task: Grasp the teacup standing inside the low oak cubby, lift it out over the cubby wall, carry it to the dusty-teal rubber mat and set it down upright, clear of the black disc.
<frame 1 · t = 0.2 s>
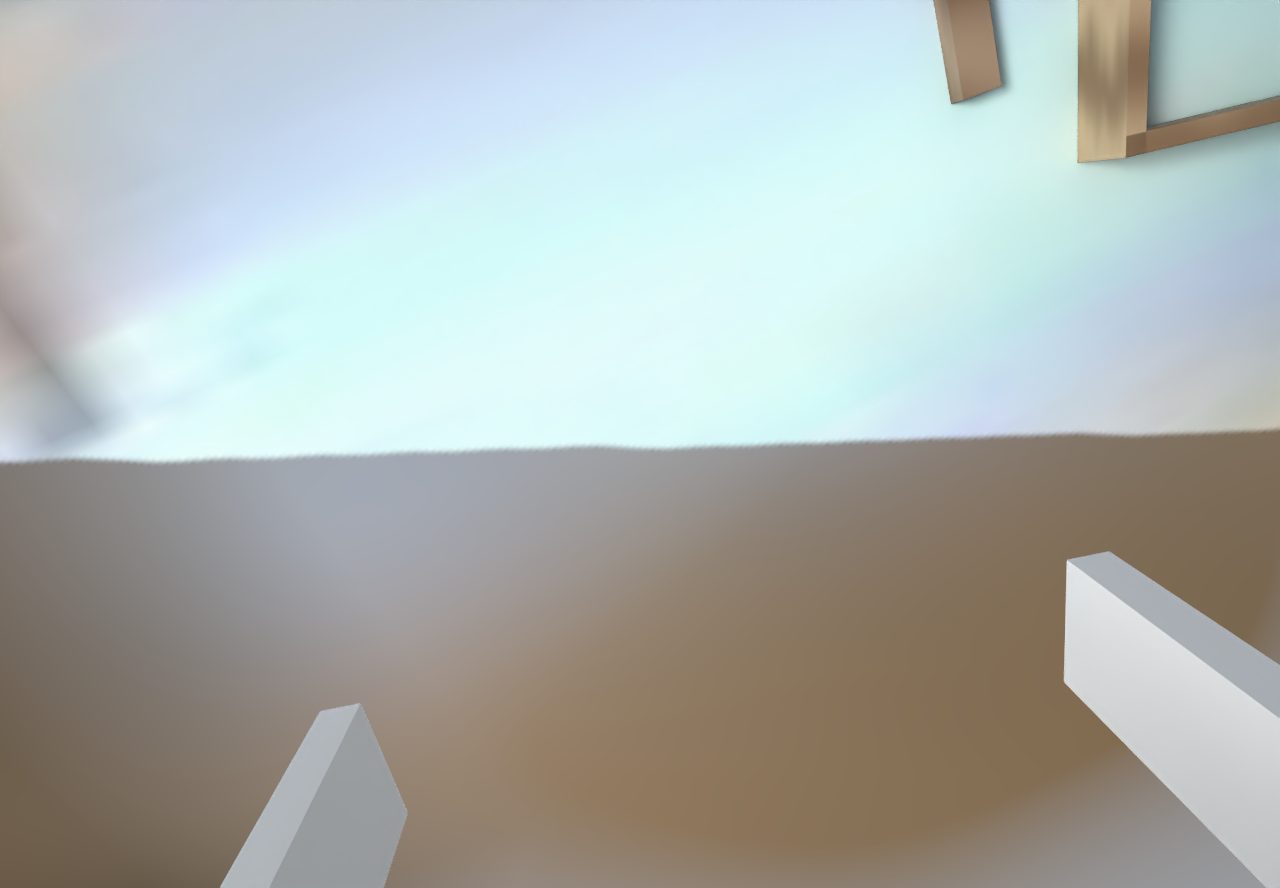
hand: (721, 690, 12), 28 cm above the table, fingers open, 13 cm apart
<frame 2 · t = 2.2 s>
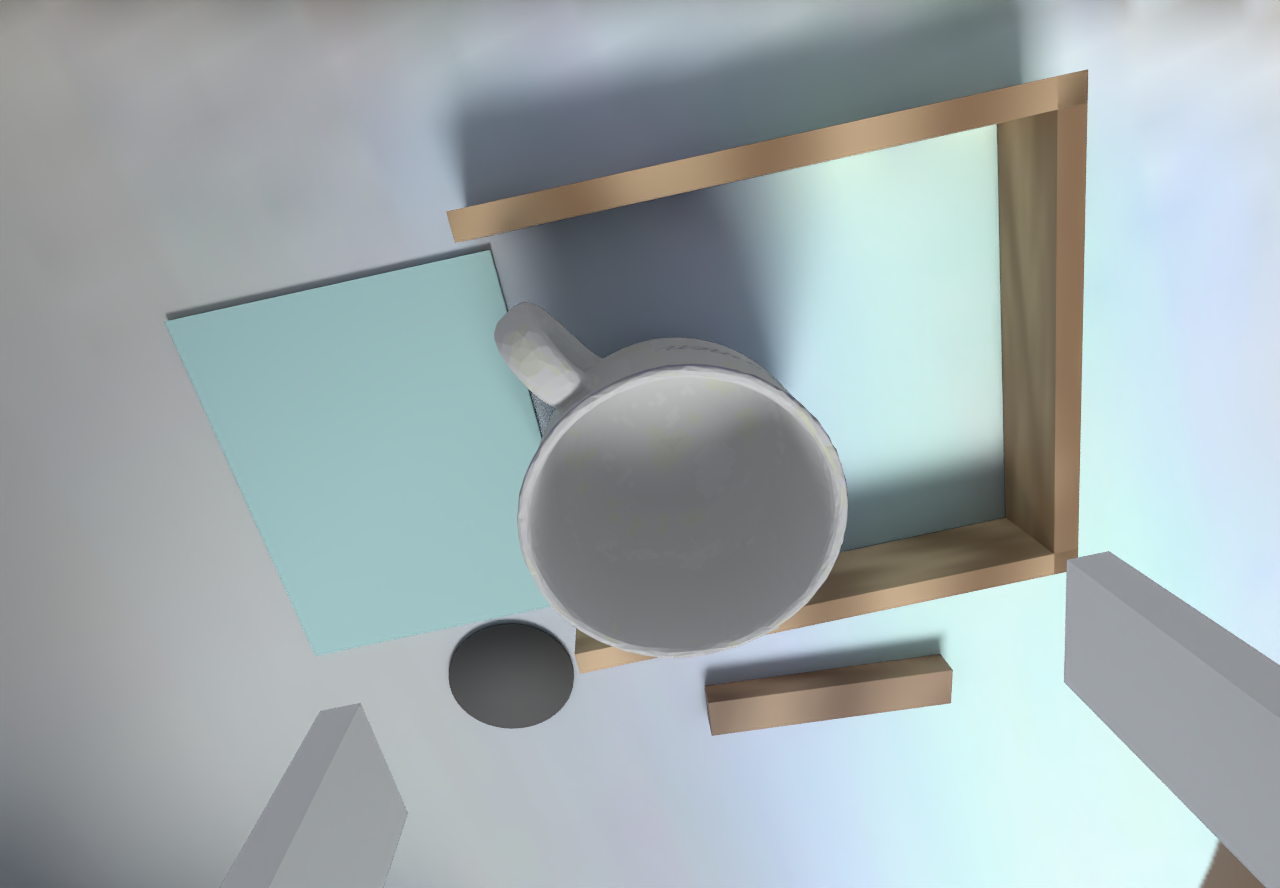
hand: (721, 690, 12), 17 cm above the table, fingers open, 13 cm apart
walnut bar: (821, 681, 34), on the table
cubby: (776, 389, 28), on the table
teacup: (644, 415, 28), on the table
disc: (512, 676, 32), on the table
mat: (395, 471, 28), on the table
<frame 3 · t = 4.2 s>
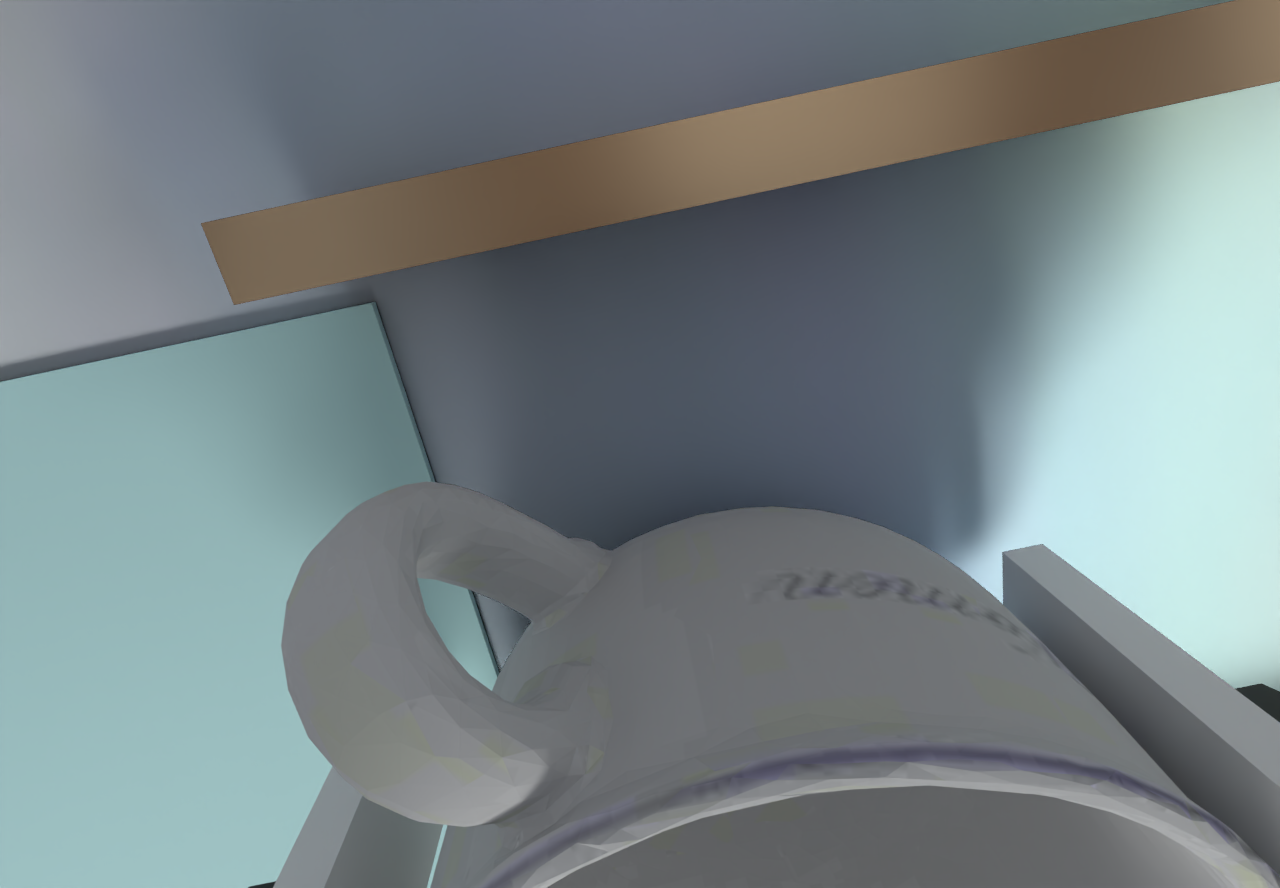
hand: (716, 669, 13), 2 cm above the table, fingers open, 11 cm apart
cubby: (954, 568, 14), on the table
teacup: (689, 616, 15), on the table, touching gripper
mat: (209, 722, 15), on the table
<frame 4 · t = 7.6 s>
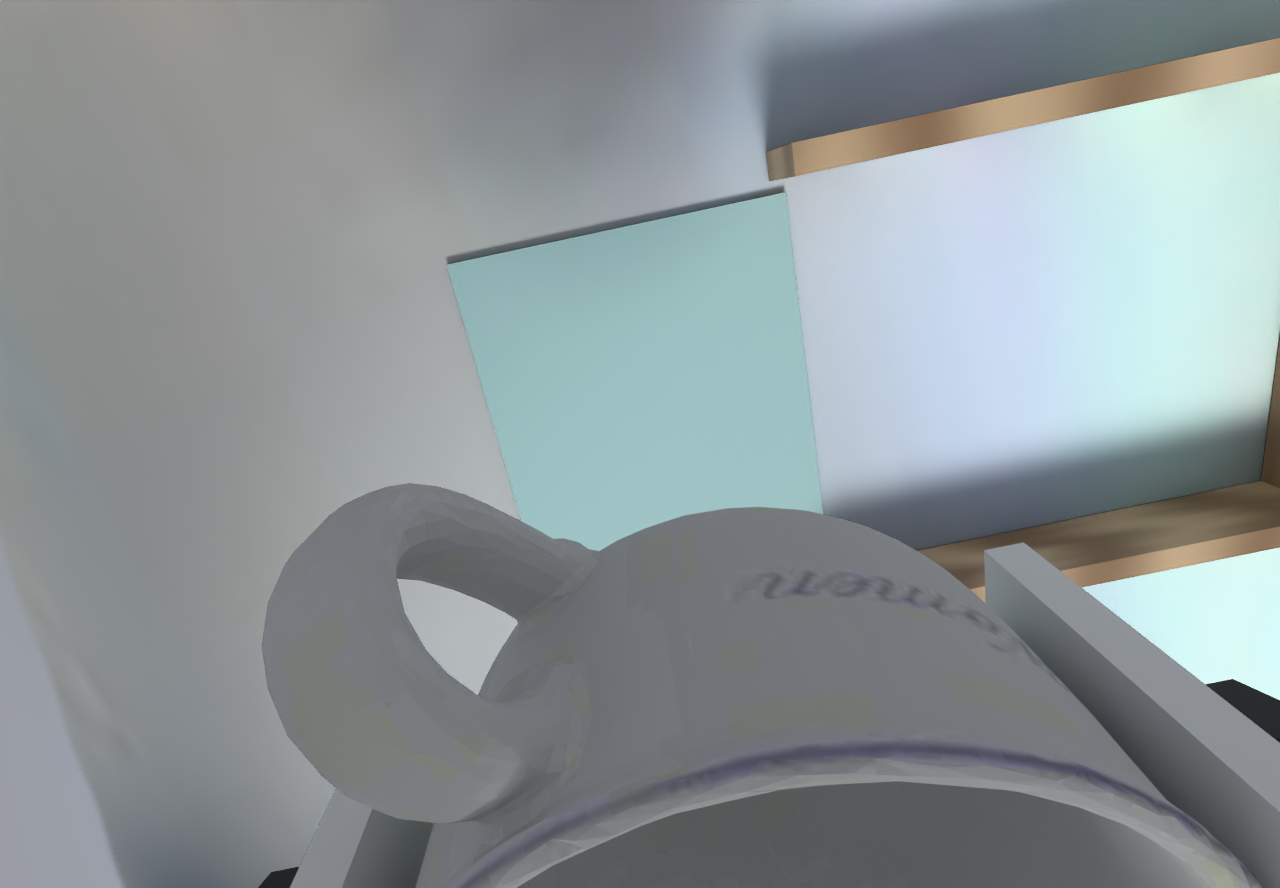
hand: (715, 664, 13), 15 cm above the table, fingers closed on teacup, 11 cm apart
cubby: (1051, 343, 27), on the table
teacup: (679, 616, 15), point 14 cm above the table, touching gripper
mat: (655, 425, 27), on the table
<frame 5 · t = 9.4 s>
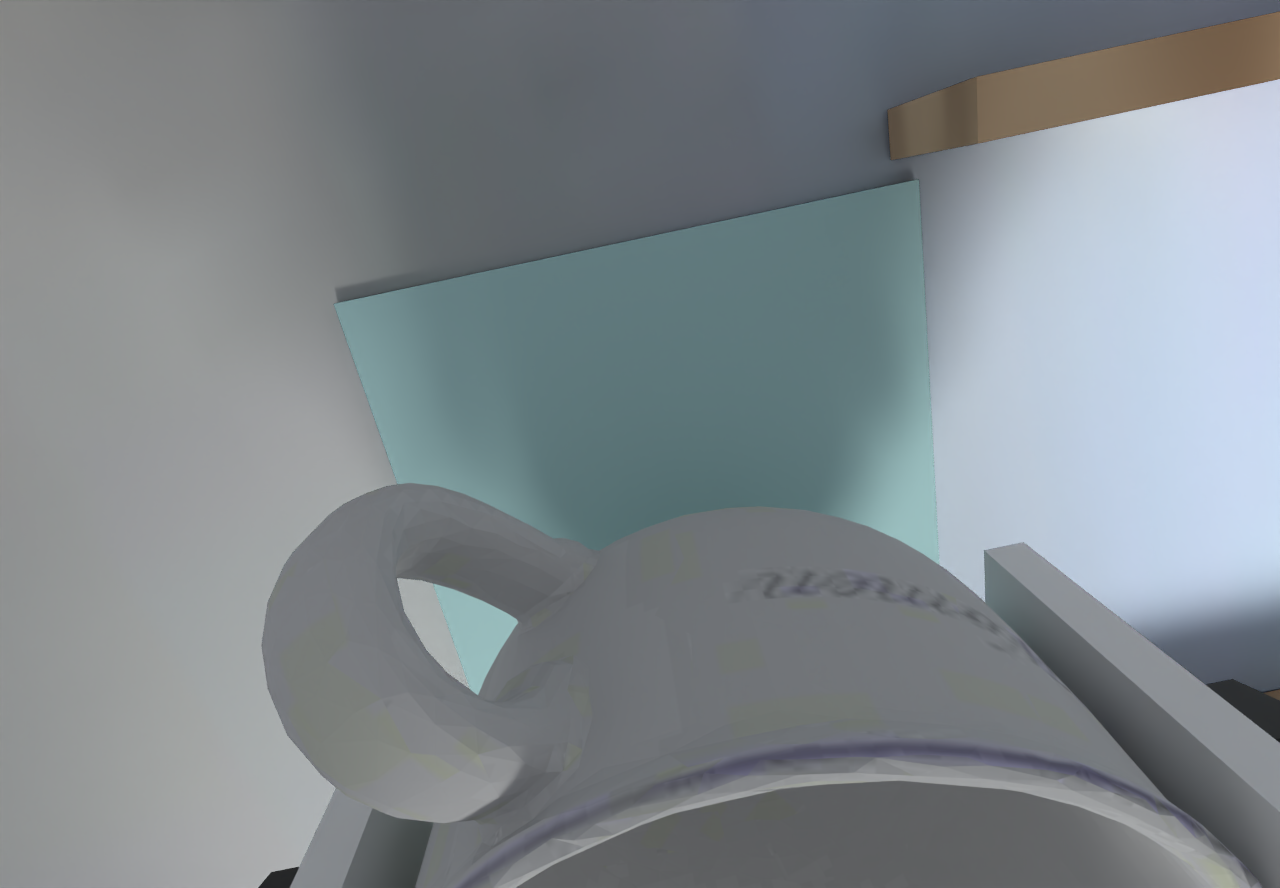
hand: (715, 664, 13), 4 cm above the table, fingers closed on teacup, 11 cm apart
teacup: (679, 616, 15), point 3 cm above the table, touching gripper
mat: (687, 556, 17), on the table
when the fingers open (3 cm above the table, at t = 10.7 s): teacup drops 2 cm, resting on mat.
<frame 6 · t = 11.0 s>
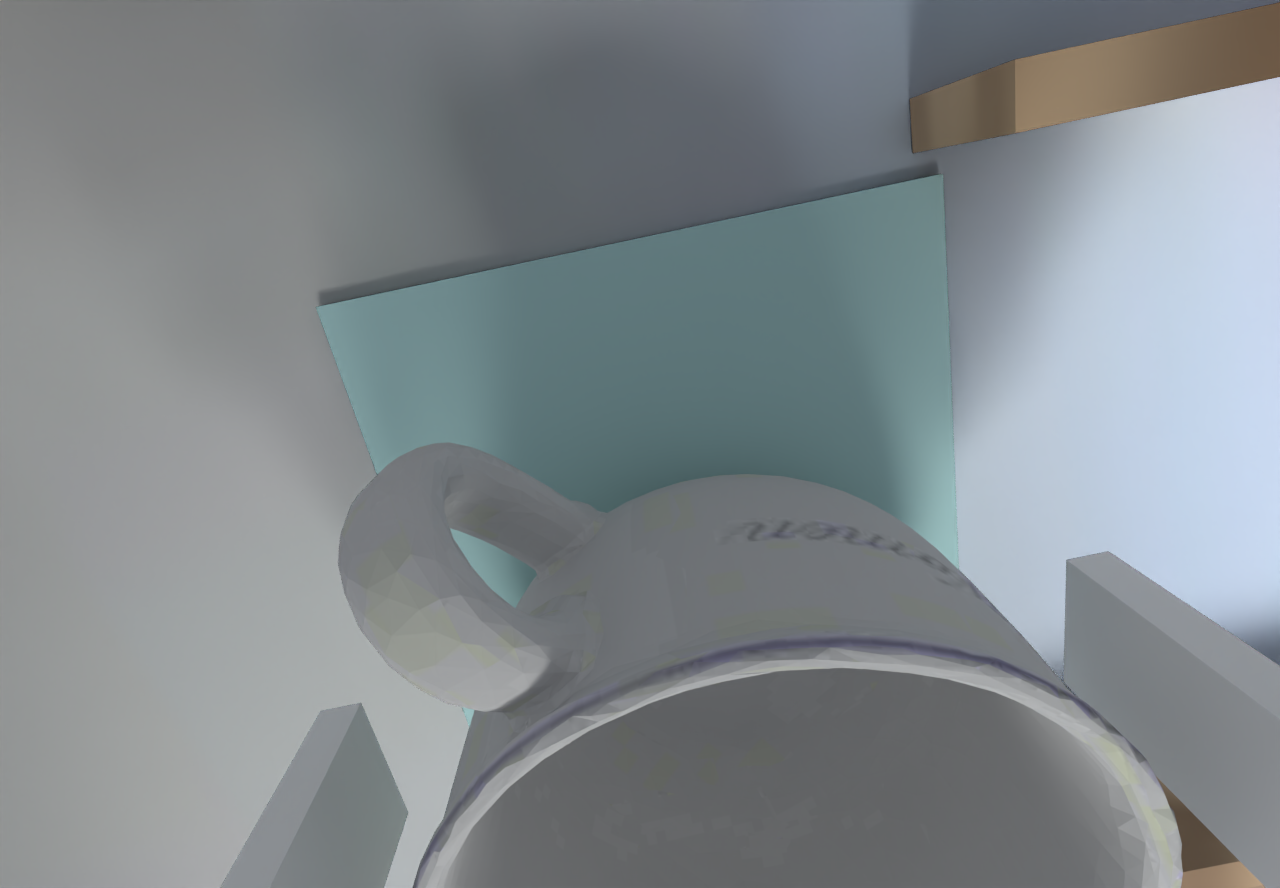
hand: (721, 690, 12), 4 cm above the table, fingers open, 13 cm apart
teacup: (678, 580, 16), resting on mat
mat: (692, 573, 16), on the table
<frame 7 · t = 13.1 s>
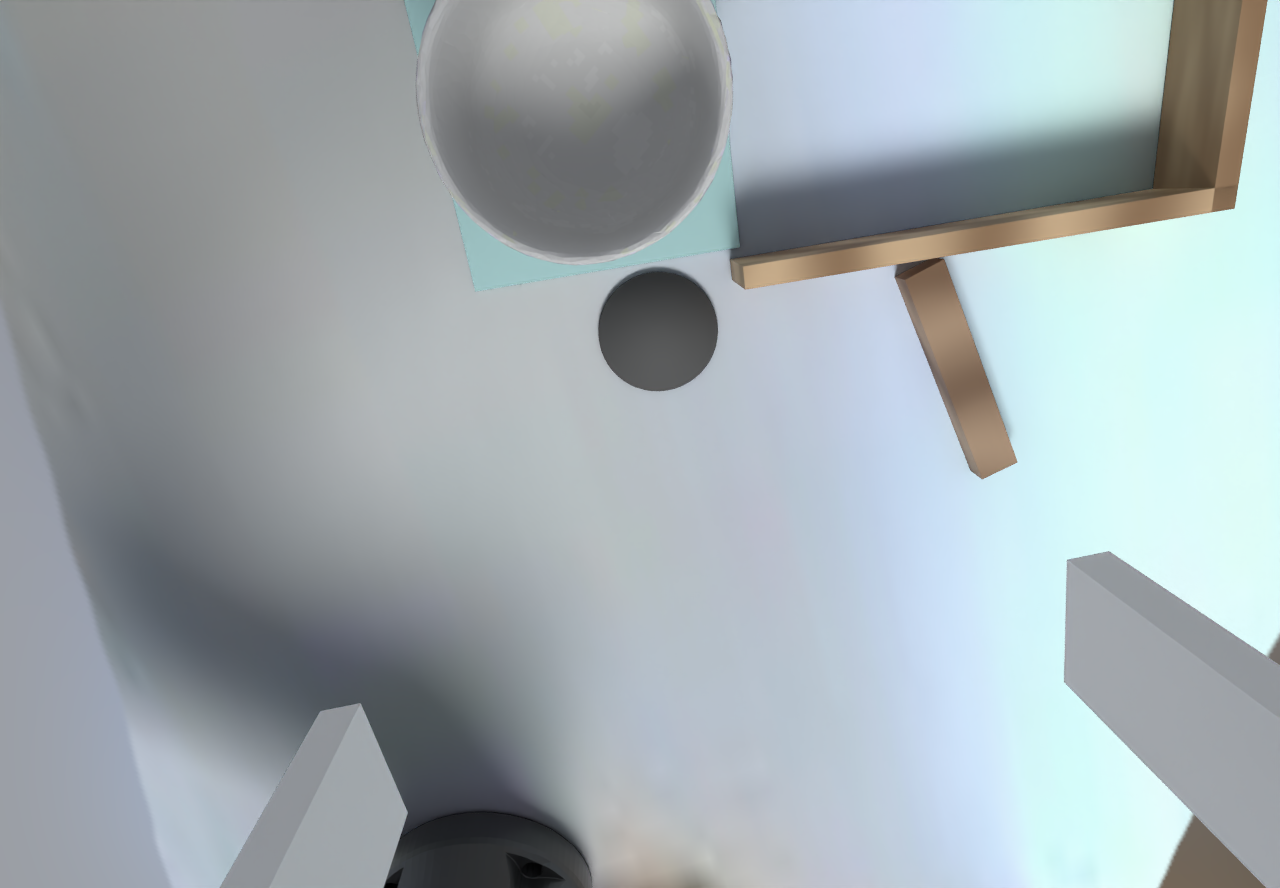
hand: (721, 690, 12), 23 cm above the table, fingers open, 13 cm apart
walnut bar: (949, 368, 35), on the table
cubby: (952, 20, 29), on the table
teacup: (567, 90, 29), resting on mat
disc: (658, 332, 33), on the table
mat: (575, 86, 29), on the table
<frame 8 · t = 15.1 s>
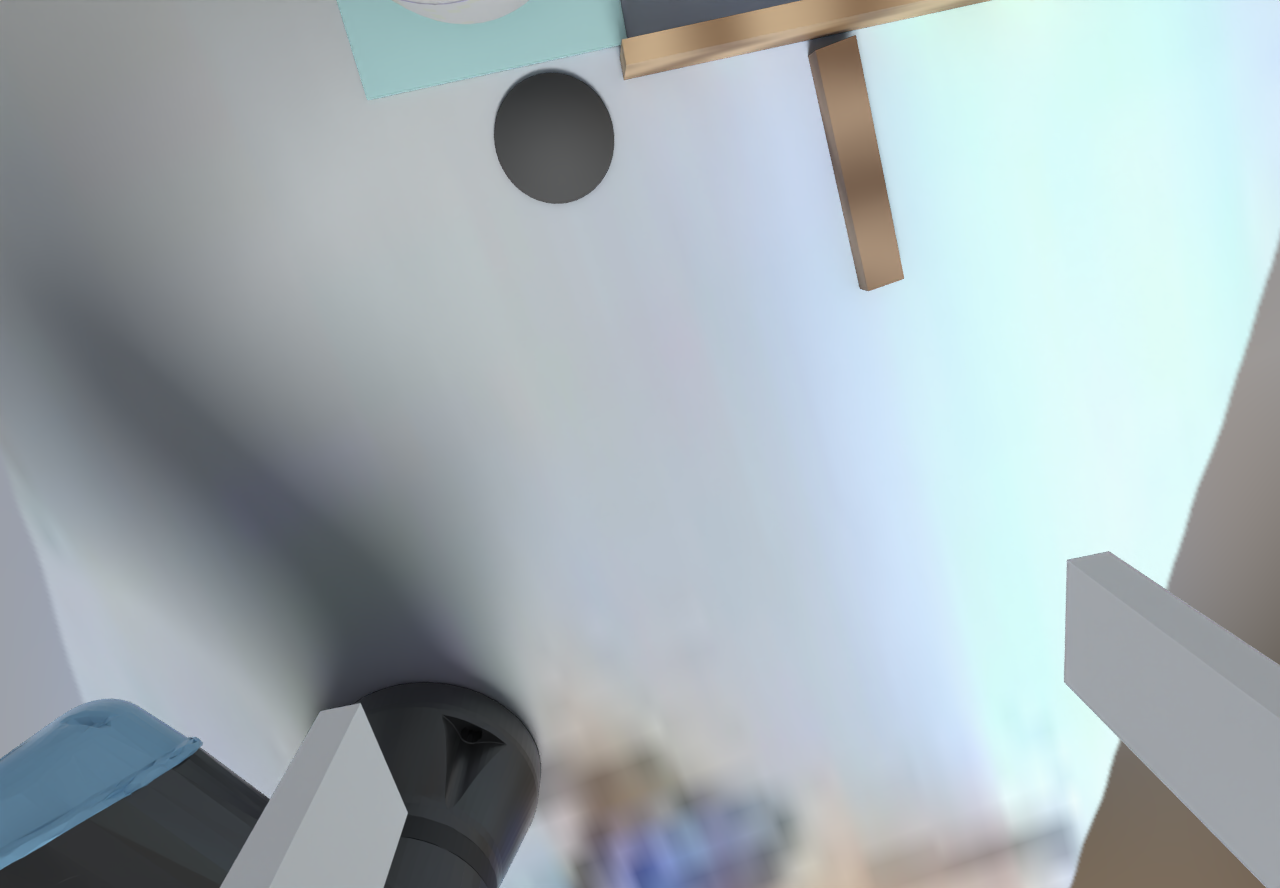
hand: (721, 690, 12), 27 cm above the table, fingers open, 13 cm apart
walnut bar: (851, 172, 35), on the table
disc: (554, 140, 33), on the table
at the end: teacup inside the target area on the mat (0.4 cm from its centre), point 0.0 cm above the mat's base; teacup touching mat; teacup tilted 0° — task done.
